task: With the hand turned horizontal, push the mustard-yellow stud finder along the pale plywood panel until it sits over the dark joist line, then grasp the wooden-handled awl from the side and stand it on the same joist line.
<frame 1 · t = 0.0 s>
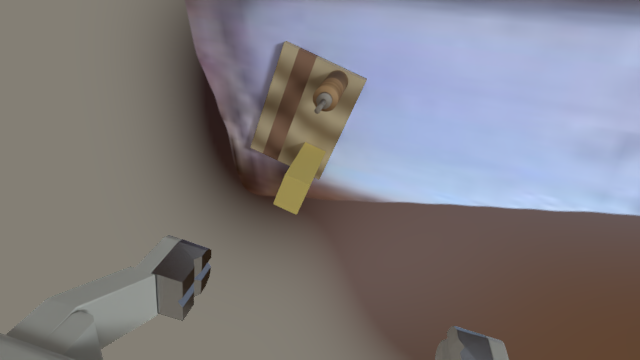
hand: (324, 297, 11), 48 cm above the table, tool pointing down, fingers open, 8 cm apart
plywood panel: (304, 114, 60), on the table
stud finder: (300, 176, 57), point 7 cm above the table, slide at 0.0 cm
awl: (337, 81, 55), point 1 cm above the table, touching plywood panel
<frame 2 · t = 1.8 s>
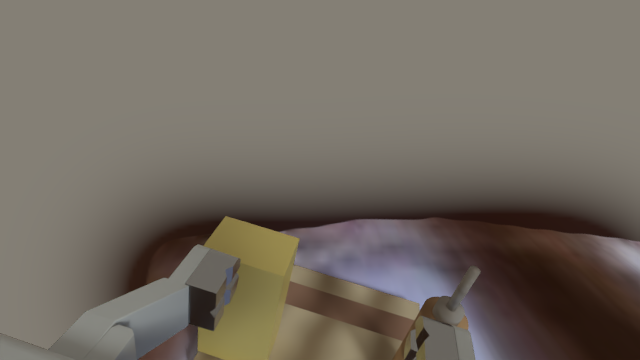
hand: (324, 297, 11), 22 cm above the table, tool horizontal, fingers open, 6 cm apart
plywood panel: (320, 336, 35), on the table
stud finder: (245, 297, 28), point 7 cm above the table, slide at 0.0 cm
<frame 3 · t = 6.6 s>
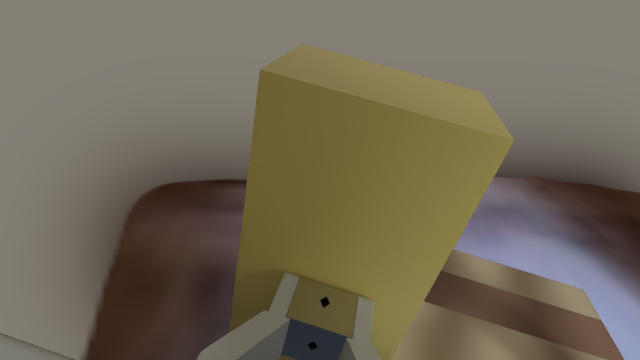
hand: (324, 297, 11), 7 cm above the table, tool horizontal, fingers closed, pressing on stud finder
plywood panel: (439, 344, 19), on the table
stud finder: (337, 239, 13), point 7 cm above the table, slide at 0.9 cm, touching gripper
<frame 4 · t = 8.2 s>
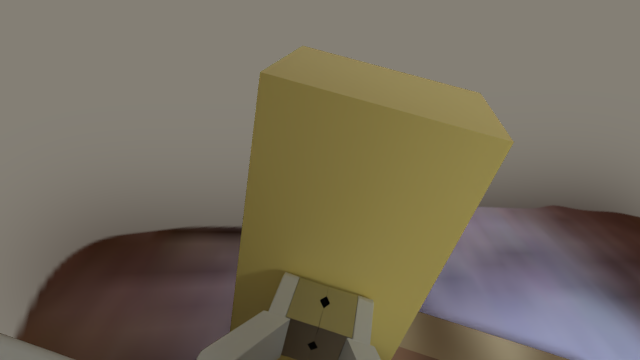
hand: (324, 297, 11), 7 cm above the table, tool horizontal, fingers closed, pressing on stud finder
stud finder: (337, 240, 13), point 7 cm above the table, slide at 7.2 cm, touching gripper
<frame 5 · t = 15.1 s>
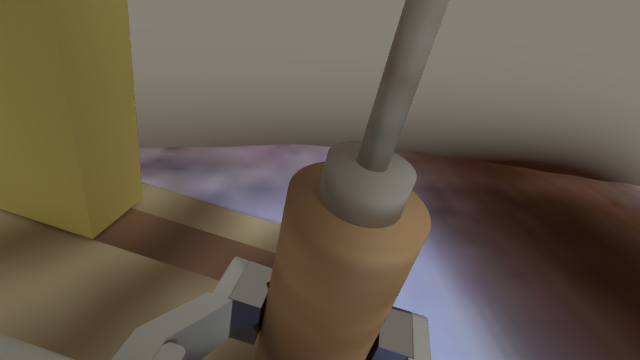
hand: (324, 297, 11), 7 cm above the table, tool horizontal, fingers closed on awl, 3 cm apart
plywood panel: (149, 301, 17), on the table
stud finder: (52, 101, 17), point 7 cm above the table, slide at 7.4 cm
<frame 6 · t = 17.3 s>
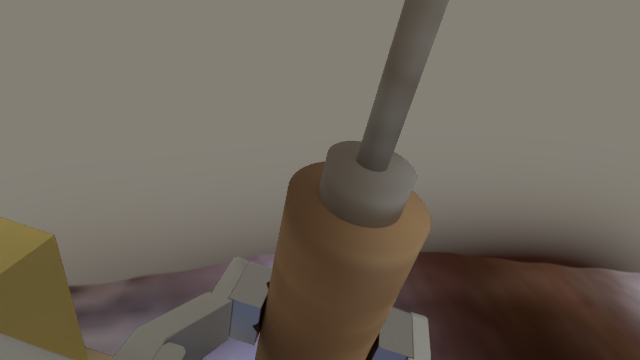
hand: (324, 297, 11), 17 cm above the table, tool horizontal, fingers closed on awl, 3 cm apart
when the fingers open (8 cm above the table, at t = 19.5 s): awl drops 1 cm, resting on plywood panel.
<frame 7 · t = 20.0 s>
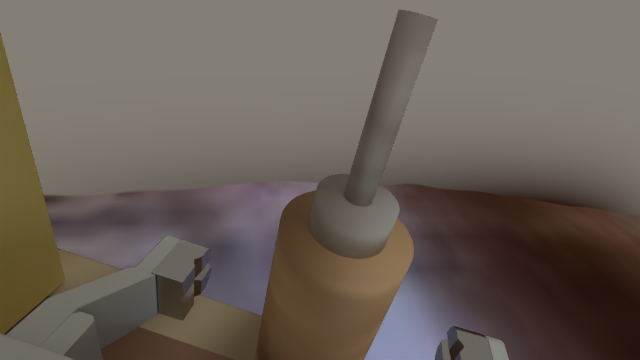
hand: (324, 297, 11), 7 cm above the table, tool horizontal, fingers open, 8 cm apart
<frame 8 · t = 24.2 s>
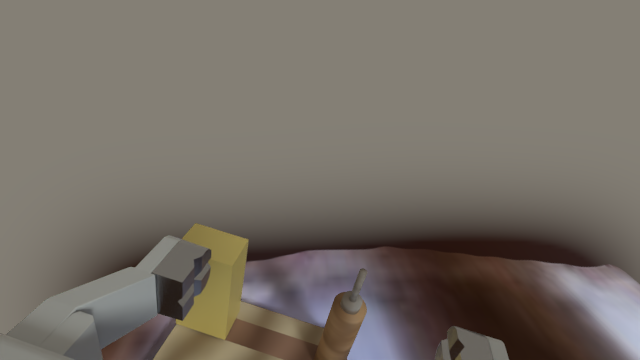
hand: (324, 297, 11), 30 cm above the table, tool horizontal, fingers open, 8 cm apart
stud finder: (211, 282, 38), point 7 cm above the table, slide at 7.4 cm
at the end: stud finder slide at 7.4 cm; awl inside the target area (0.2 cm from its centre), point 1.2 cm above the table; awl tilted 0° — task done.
